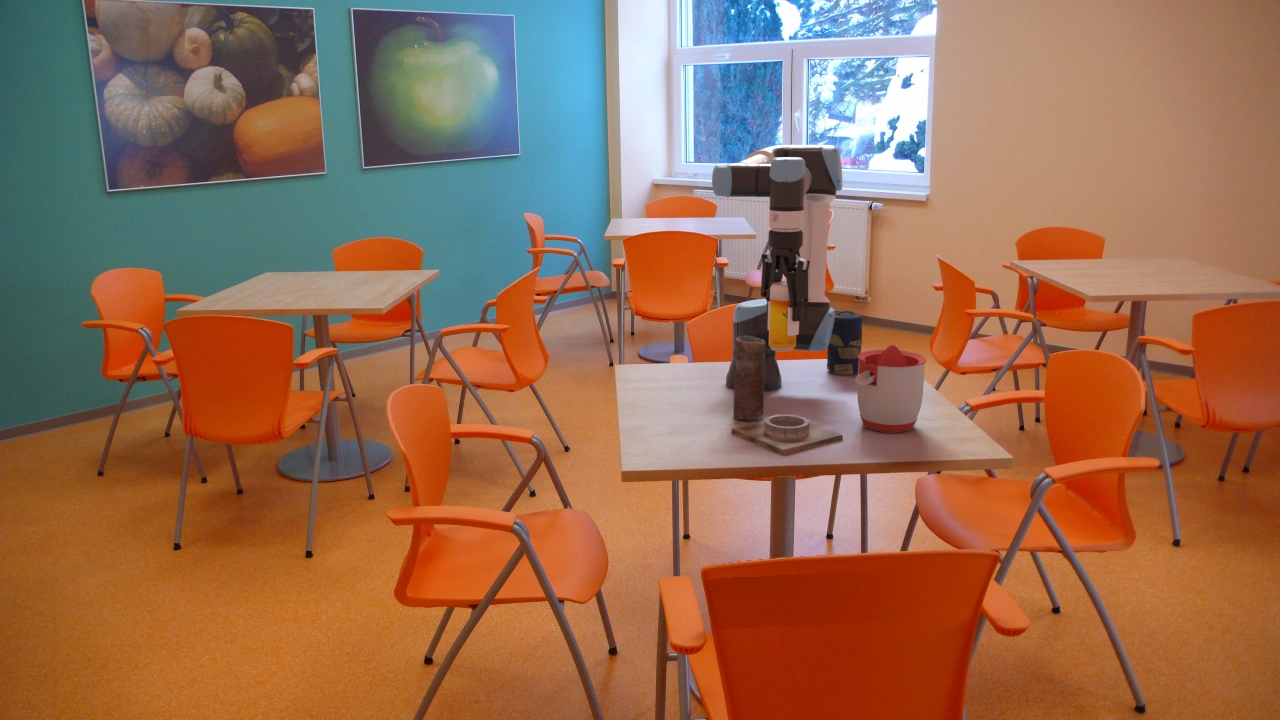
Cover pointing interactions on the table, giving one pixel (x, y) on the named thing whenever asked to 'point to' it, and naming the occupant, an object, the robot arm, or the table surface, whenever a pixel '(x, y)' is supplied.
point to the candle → (749, 378)
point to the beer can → (780, 318)
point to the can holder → (786, 434)
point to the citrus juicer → (890, 388)
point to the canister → (845, 343)
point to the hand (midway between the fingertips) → (782, 331)
